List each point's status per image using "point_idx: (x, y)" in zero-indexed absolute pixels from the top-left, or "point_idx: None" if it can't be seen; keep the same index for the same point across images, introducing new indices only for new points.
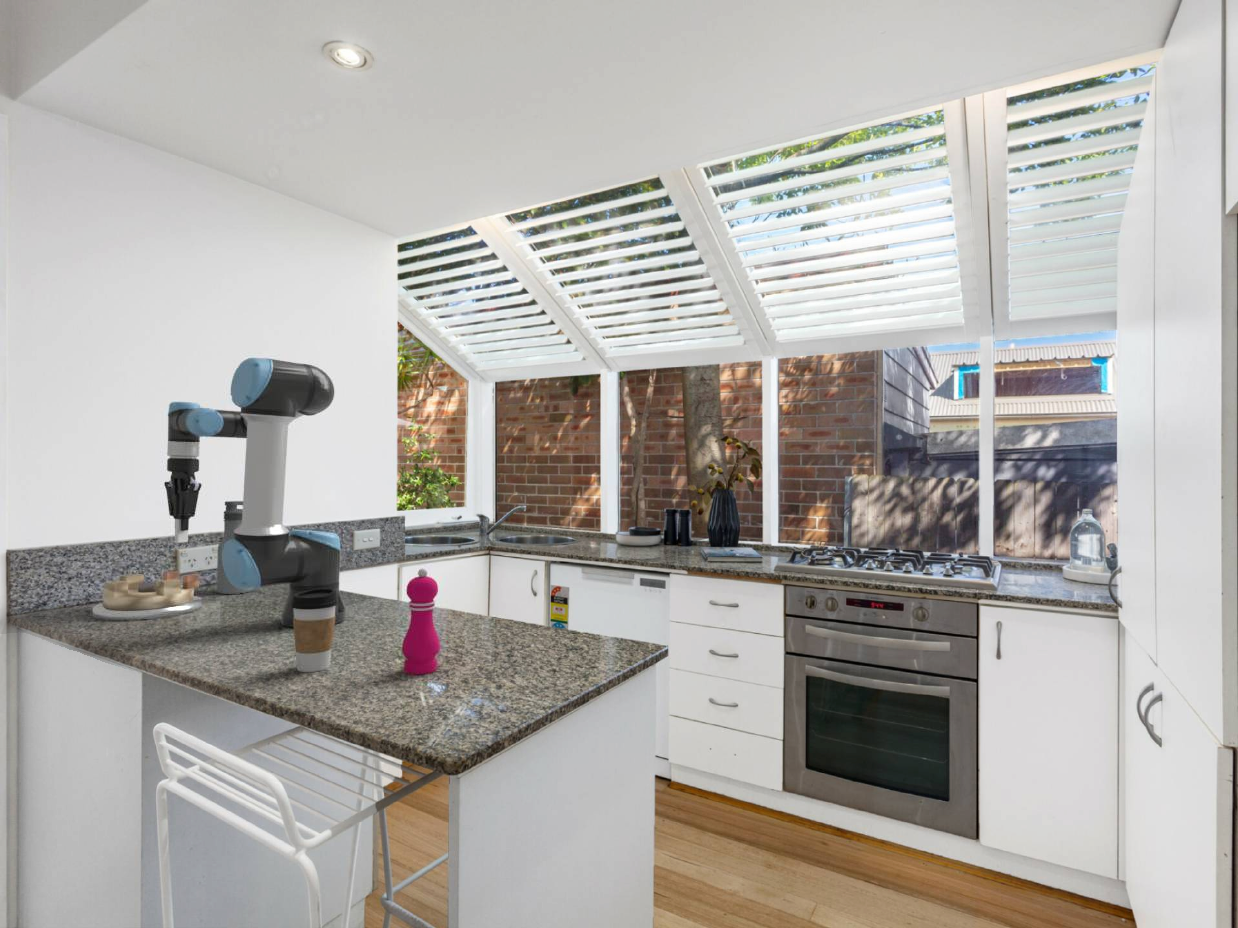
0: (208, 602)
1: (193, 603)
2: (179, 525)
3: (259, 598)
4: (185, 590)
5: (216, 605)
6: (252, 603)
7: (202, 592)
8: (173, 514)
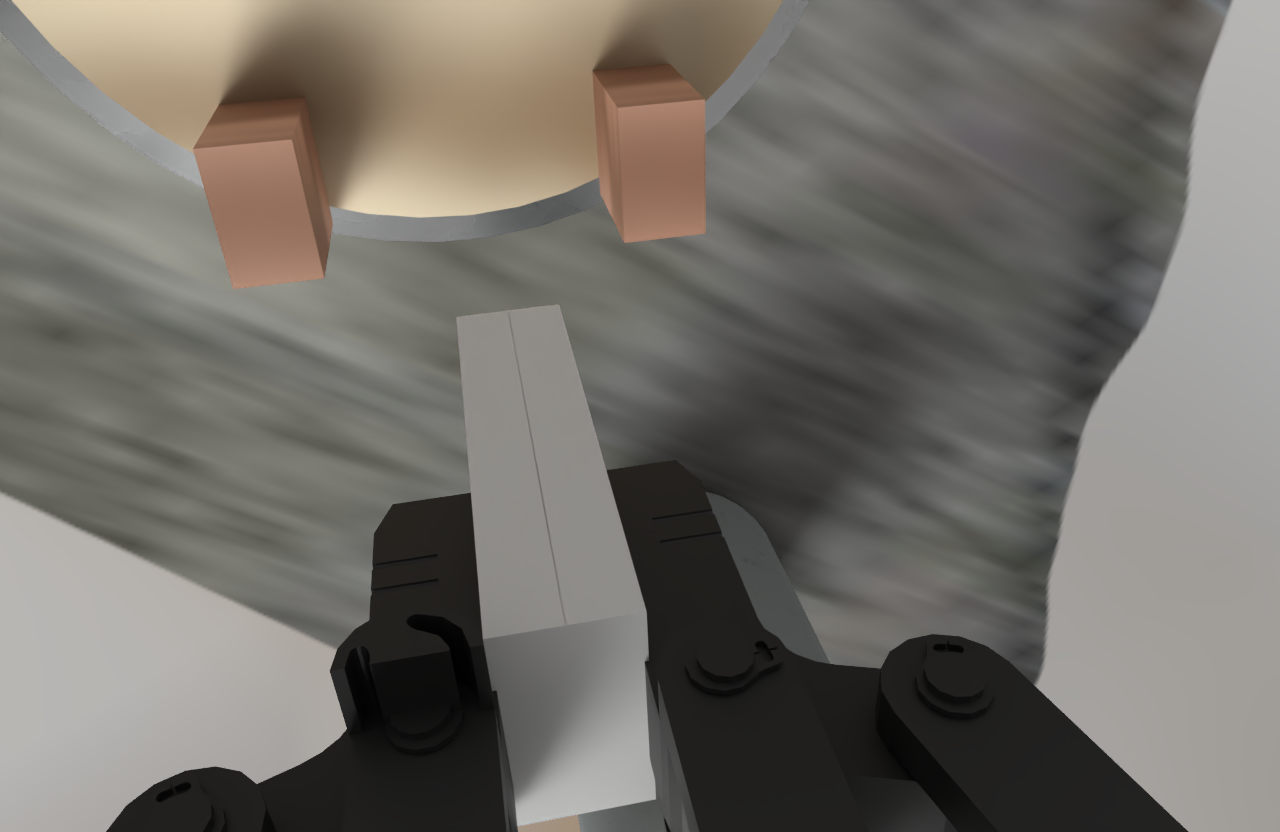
0: (396, 295)
1: (37, 40)
2: (480, 541)
3: (264, 579)
4: (117, 39)
5: (202, 275)
6: (78, 475)
7: (833, 440)
8: (798, 699)
